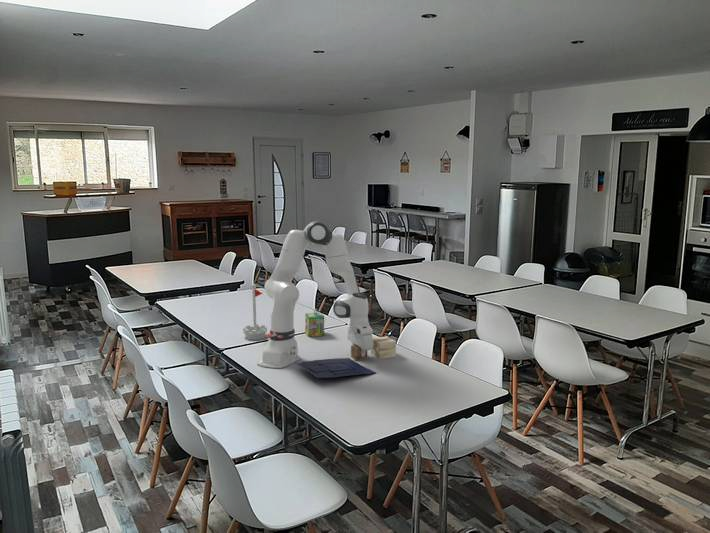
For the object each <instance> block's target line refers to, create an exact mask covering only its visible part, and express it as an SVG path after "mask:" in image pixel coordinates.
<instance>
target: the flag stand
mask: <svg viewBox="0 0 710 533" xmlns="http://www.w3.org/2000/svg"><path fill="white" fill-rule="evenodd" d="M250 288H251V290H252V292H251V293H252V313H253V314H252V318H253V326H251V324H248V325H245V326H243V328H242V332H243V334H244V335H245V338H246V340H261V339H264V338H266V333H267V332H268V326H266V324H261V325H259V324H258V323H257V303H256V302H257V297H258V296H260V295H262V294H263V292H261V291H259V290H258V289H256V288H257V285H256V284H255V283H252V284H251V286H250Z"/></svg>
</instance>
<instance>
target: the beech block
mask: <svg viewBox="0 0 710 533" xmlns="http://www.w3.org/2000/svg"><path fill="white" fill-rule="evenodd" d="M396 344H397V341H396V340H394V339H392V338H391V337H389V336H387V335H386V336H380V337H372V349H371V350H370V354H371V355H372V356H374V357H376V358H377V359H379V360H384V359H389V358H394V357H395V358H396V356H397V345H396Z"/></svg>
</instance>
